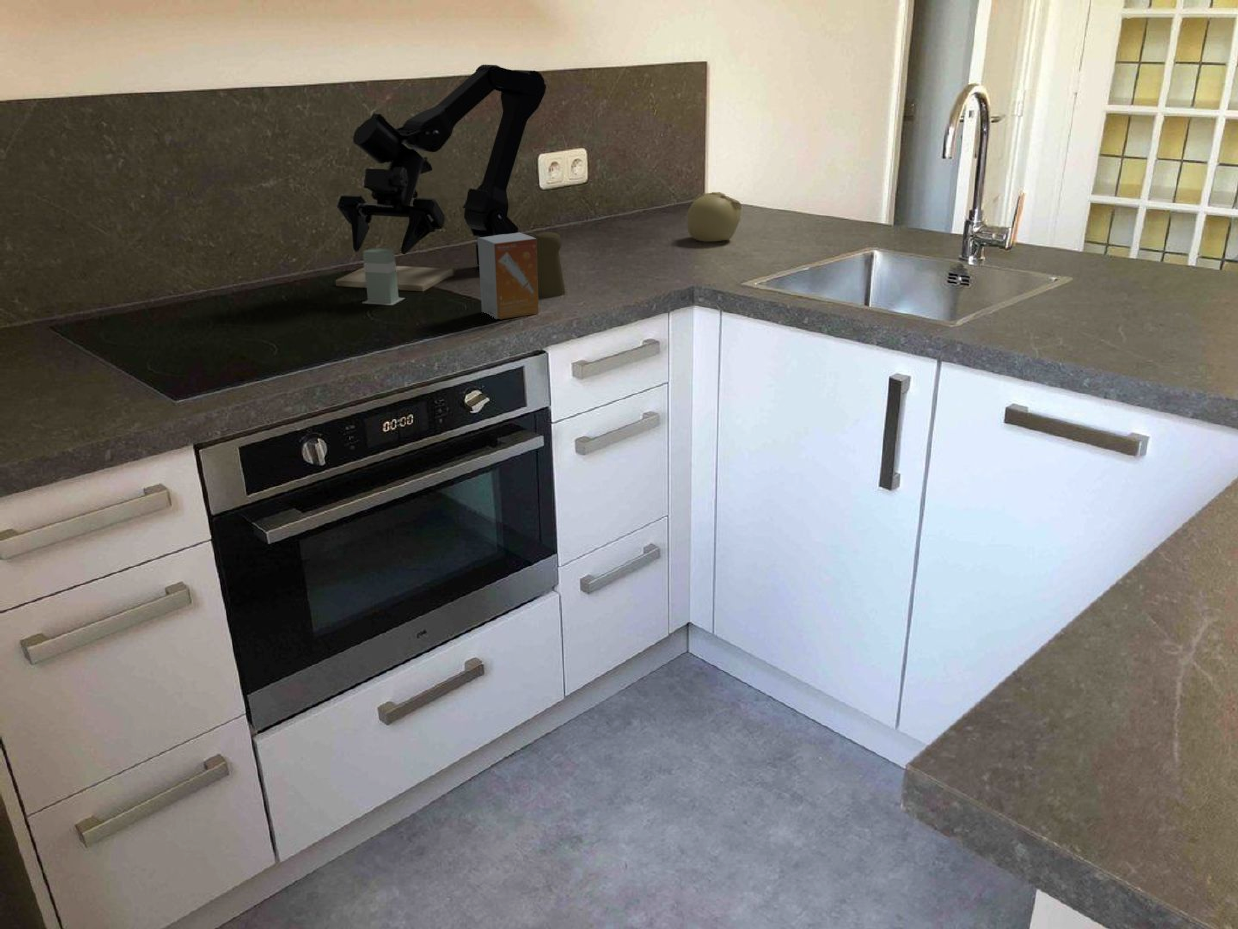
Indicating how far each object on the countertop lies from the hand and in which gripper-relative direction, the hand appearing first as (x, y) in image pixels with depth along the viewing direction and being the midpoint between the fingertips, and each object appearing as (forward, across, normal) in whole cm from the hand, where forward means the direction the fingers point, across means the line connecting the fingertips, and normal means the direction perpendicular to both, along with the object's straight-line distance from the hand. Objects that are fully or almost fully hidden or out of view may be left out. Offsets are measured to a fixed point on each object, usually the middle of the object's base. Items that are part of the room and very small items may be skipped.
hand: (378, 251), depth 175 cm
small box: (+8, +25, +5) cm, 27 cm away
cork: (-3, +27, +15) cm, 31 cm away
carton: (+6, 0, +6) cm, 9 cm away
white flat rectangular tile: (+6, 0, +6) cm, 9 cm away
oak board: (-4, -5, +17) cm, 18 cm away
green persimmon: (-42, +48, +54) cm, 84 cm away
